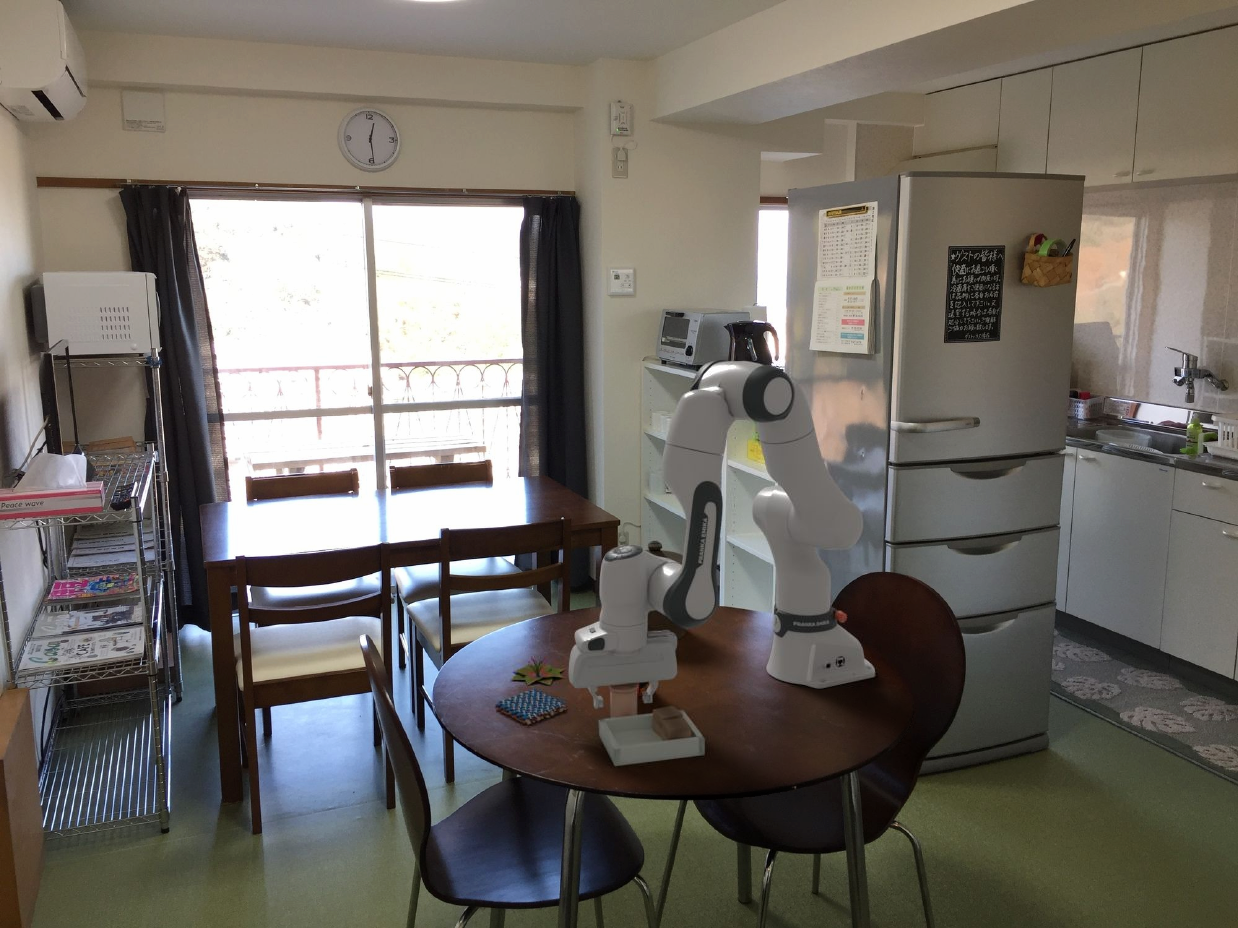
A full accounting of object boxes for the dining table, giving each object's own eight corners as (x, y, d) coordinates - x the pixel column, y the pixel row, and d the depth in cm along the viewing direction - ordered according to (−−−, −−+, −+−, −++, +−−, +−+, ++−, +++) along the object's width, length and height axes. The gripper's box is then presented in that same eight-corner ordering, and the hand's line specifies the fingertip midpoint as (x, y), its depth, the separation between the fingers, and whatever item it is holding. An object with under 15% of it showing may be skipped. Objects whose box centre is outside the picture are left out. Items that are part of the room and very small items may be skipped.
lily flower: (499, 684, 198) (499, 663, 197) (522, 663, 209) (522, 643, 208) (554, 692, 194) (554, 670, 193) (574, 670, 205) (574, 649, 205)
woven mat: (570, 711, 185) (570, 701, 185) (526, 728, 178) (526, 718, 178) (535, 695, 193) (535, 686, 192) (492, 711, 185) (492, 701, 185)
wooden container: (656, 617, 237) (657, 530, 234) (698, 633, 226) (700, 542, 222) (610, 630, 228) (609, 540, 224) (651, 648, 217) (652, 553, 213)
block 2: (683, 738, 171) (683, 717, 171) (690, 748, 168) (691, 727, 167) (662, 741, 170) (662, 720, 170) (668, 751, 167) (668, 729, 166)
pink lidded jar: (633, 712, 184) (633, 677, 183) (641, 724, 179) (641, 688, 177) (606, 715, 182) (606, 680, 181) (613, 727, 177) (613, 691, 176)
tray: (682, 724, 178) (683, 709, 178) (704, 754, 167) (704, 738, 166) (598, 734, 174) (598, 719, 174) (614, 765, 163) (614, 749, 162)
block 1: (672, 726, 176) (672, 705, 176) (682, 735, 173) (683, 714, 172) (652, 730, 175) (653, 709, 174) (662, 739, 171) (663, 718, 170)
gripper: (672, 623, 183) (671, 692, 185) (566, 632, 178) (566, 702, 180) (682, 634, 177) (681, 705, 179) (573, 644, 172) (573, 716, 174)
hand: (623, 704), depth 180 cm, fingers open, 8 cm apart
